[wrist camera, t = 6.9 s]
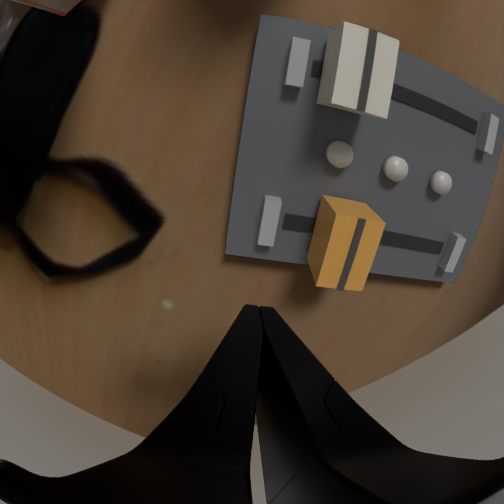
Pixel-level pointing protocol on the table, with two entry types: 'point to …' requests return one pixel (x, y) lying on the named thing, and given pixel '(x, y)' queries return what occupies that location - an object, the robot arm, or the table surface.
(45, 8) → the cracker box
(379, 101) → the ivory fader
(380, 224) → the orange fader
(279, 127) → the console
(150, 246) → the table surface
